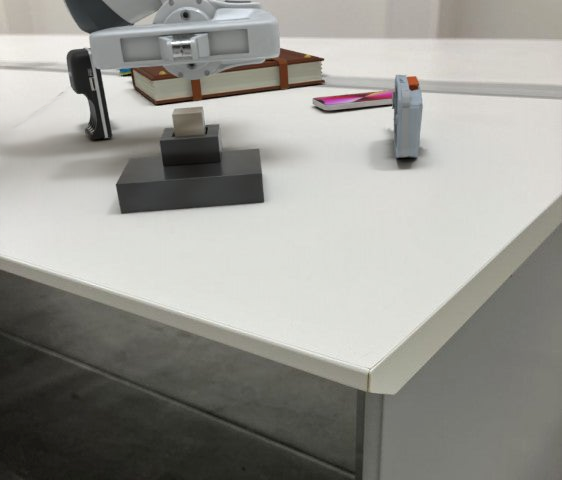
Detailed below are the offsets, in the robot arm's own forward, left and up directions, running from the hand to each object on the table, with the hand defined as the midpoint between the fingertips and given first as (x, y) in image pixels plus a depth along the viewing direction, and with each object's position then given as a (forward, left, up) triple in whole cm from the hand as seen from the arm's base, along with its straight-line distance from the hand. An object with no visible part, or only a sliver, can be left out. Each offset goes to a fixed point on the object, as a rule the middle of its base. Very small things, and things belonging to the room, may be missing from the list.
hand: (181, 50), depth 68 cm
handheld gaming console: (+24, +5, -13) cm, 28 cm away
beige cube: (0, -1, -8) cm, 8 cm away
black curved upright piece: (-16, +27, -13) cm, 34 cm away
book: (+2, +64, -13) cm, 66 cm away
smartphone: (+24, +36, -13) cm, 45 cm away
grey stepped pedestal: (0, -5, -13) cm, 14 cm away
